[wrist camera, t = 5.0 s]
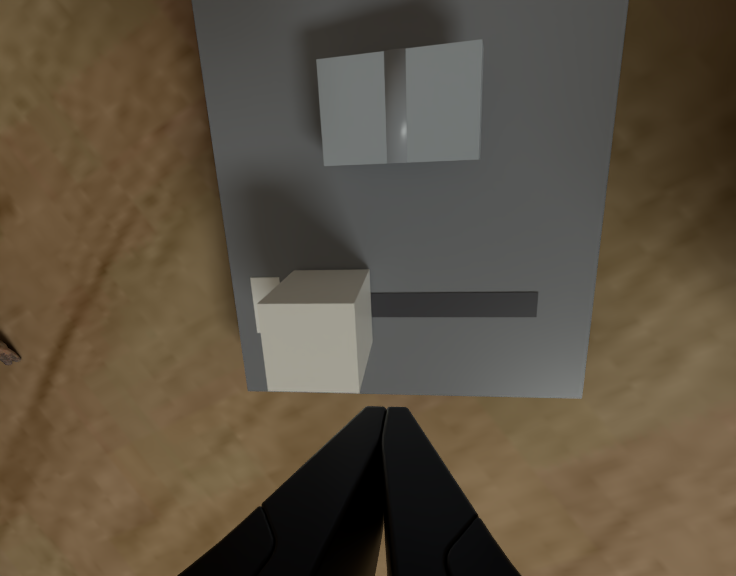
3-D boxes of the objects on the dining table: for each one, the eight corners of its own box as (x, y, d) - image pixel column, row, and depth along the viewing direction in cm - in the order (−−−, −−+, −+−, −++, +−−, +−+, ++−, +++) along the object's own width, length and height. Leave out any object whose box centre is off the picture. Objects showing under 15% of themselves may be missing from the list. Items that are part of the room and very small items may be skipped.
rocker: (483, 48, 13) (481, 38, 12) (480, 159, 14) (478, 159, 13) (329, 66, 14) (314, 58, 13) (335, 165, 15) (322, 166, 14)
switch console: (626, -279, 13) (679, -392, 10) (561, 368, 19) (584, 402, 17) (194, -209, 15) (144, -290, 12) (267, 364, 21) (245, 394, 18)
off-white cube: (369, 269, 16) (354, 303, 12) (372, 340, 17) (359, 393, 13) (293, 270, 17) (256, 303, 13) (300, 340, 18) (267, 391, 14)
